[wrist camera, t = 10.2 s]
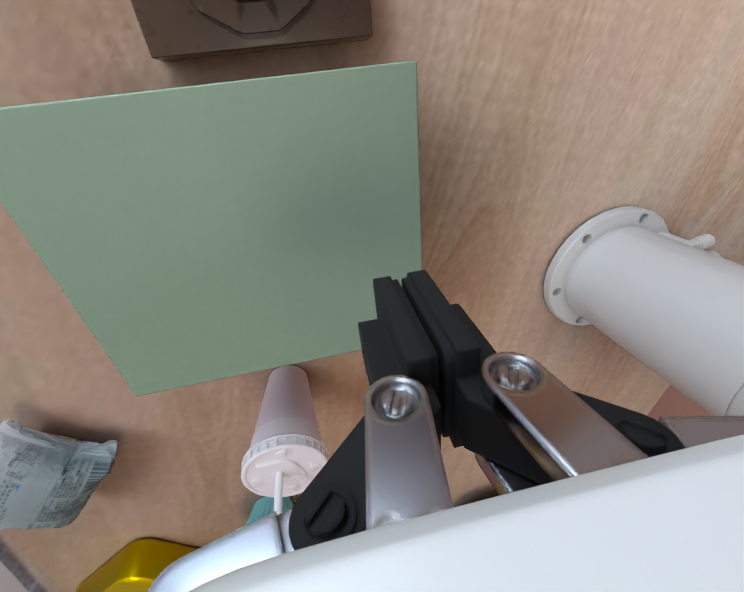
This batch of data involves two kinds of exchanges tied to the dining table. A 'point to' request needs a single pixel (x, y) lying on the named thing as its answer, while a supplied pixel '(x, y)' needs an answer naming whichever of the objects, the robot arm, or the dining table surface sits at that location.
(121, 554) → the element tile
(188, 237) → the lid
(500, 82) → the dining table surface
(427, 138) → the dining table surface
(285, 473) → the smoothie
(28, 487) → the packaged food
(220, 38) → the switch block
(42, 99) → the dining table surface
